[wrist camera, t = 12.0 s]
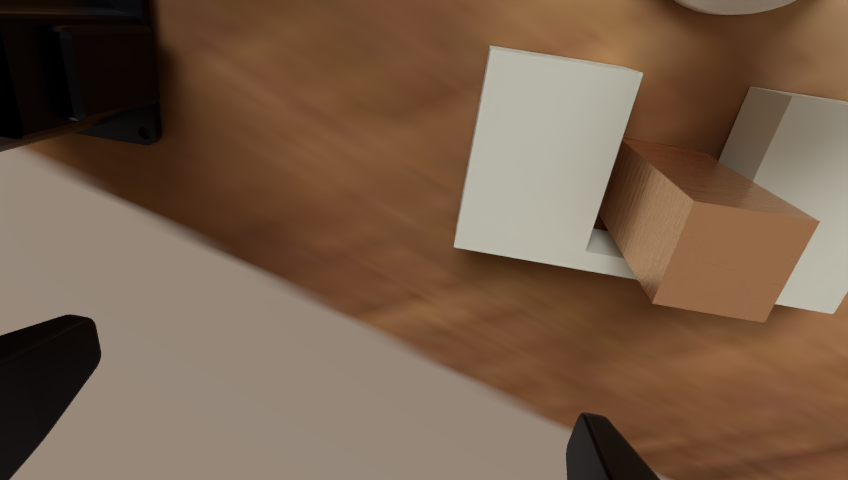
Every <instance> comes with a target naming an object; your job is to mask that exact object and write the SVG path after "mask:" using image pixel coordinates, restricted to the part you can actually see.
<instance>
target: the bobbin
mask: <svg viewBox="0 0 848 480" xmlns="http://www.w3.org/2000/svg"><path fill="white" fill-rule="evenodd" d="M673 1H675V2H677V3H678V4H680V5H682V6H684V7H686V8H689V9H691V10H694V11H697V12H702V13H706V14H715V15H739V14H754V13H759V12H764V11H769V10H772V9H776V8H779V7H782V6H785V5H787V4H790V3H792V2H794V1H796V0H673Z"/></svg>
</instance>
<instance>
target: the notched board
mask: <svg viewBox="0 0 848 480" xmlns="http://www.w3.org/2000/svg"><path fill="white" fill-rule="evenodd" d="M642 76H643V73H642V72H639V71H636V70H632V69H629V68H626V67H623V66H618V65H611V64H605V63H598V62H592V61H586V60H579V59H573V58H567V57H560V56H554V55H547V54H541V53H535V52H528V51H522V50H516V49H509V48H503V47H496V46H490V47H489V52H488V58H487V63H486V68H485V74H484V79H483V84H482V90H481V95H480V101H479V106H478V111H477V117H476V122H475V128H474V133H473V138H472V144H471V149H470V155H469V160H468V165H467V171H466V176H465V182H464V187H463V192H462V198H461V203H460V208H459V214H458V219H457V226H456V234H455V241H454V247H455V248H461V249H466V250H472V251H478V252H483V253H489V254H495V255H500V256H506V257H512V258H517V259H523V260H529V261H534V262H540V263H546V264H551V265H557V266H563V267H568V268H574V269H580V270H585V271H591V272H597V273H602V274H608V275H614V276H619V277H625V278H631V279H636V280H638V279H637V278H636V276H635V274H634V273H633V271H632V269H631V268H630V266H629V264H628V263H627V261H626V259H625V258H624V256H623V254H622V253H621V251H620V249H619V248H618V246H617V244H616V243H615V241H614V239H613V238H612V236H611V234H610V233H609V231H605V230H599V229H593V227H594V223H595V220H596V217H597V214H598V211H599V208H600V205H601V202H602V199H603V196H604V193H605V190H606V187H607V184H608V181H609V177H610V174H611V171H612V168H613V165H614V162H615V159H616V156H617V153H618V150H619V147H620V144H621V141H622V138H623V135H624V131H625V128H626V125H627V122H628V119H629V116H630V113H631V110H632V107H633V104H634V101H635V98H636V95H637V92H638V89H639V85H640V82H641V79H642ZM718 161H719V162H720V163H722V164H724V165H725V166H727V167H729V168H731V169H732V170H734V171H736V172H737V173H739V174H741V175H742V176H744V177H746V178H747V179H749V180H751V181H752V182H754V183H756V184H758V185H759V186H761V187H763V188H764V189H766V190H768V191H769V192H771V193H773V194H774V195H776V196H778V197H780V198H781V199H783V200H785V201H786V202H788V203H790V204H791V205H793V206H795V207H796V208H798V209H800V210H801V211H803V212H805V213H807V214H808V215H810V216H812V217H813V218H815V219H817V220H818V221H820V223H819V224H818V226H817V228H816V230H815V232H814V234H813V235H812V237H811V239H810V241H809V243H808V244H807V246H806V248H805V250H804V252H803V254H802V255H801V257H800V259H799V261H798V263H797V265H796V266H795V268H794V270H793V272H792V274H791V275H790V277H789V279H788V281H787V283H786V285H785V286H784V288H783V290H782V292H781V294H780V296H779V297H778V299H777V301H776V303H775V304H778V305H784V306H790V307H795V308H801V309H807V310H812V311H818V312H824V313H829V314H834V312H835V311H836V309H837V307H838V306H839V304H840V303H841V301H842V299H843V298H844V296H845V295H846V293H847V292H848V102H847V101H841V100H835V99H828V98H822V97H815V96H809V95H803V94H796V93H790V92H783V91H777V90H771V89H764V88H758V87H752V86H750V88H749V90H748V92H747V95H746V97H745V99H744V102H743V104H742V106H741V109H740V111H739V113H738V116H737V118H736V120H735V123H734V125H733V128H732V130H731V132H730V135H729V137H728V139H727V142H726V144H725V146H724V149H723V151H722V153H721V156H720V158H719V160H718Z"/></svg>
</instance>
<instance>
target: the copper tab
mask: <svg viewBox="0 0 848 480" xmlns="http://www.w3.org/2000/svg"><path fill="white" fill-rule="evenodd" d="M598 214H599V216H600V218H601V219H602V221H603V223H604V224H605V226H606V228H607V229H608V231H609V233H610V234H611V236H612V238H613V239H614V241H615V243H616V244H617V246H618V248H619V249H620V251H621V253H622V254H623V256H624V258H625V259H626V261H627V263H628V264H629V266H630V268H631V269H632V271H633V273H634V274H635V276H636V278H637V279H638V281H639V283H640V284H641V286H642V288H643V289H644V291H645V293H646V294H647V296H648V298H649V299H650V301H651V303H652V304H658V305H663V306H669V307H675V308H681V309H687V310H692V311H698V312H704V313H710V314H715V315H721V316H727V317H733V318H739V319H744V320H750V321H756V322H762V323H765V321H766V319H767V317H768V316H769V314H770V312H771V310H772V308H773V306H774V305H775V303H776V301H777V299H778V297H779V296H780V294H781V292H782V290H783V288H784V286H785V285H786V283H787V281H788V279H789V277H790V275H791V274H792V272H793V270H794V268H795V266H796V265H797V263H798V261H799V259H800V257H801V255H802V254H803V252H804V250H805V248H806V246H807V244H808V243H809V241H810V239H811V237H812V235H813V234H814V232H815V230H816V228H817V226H818V224H819V223H820V221H818V220H817V219H815V218H813V217H812V216H810V215H808V214H807V213H805V212H803V211H801V210H800V209H798V208H796V207H795V206H793V205H791V204H790V203H788V202H786V201H785V200H783V199H781V198H780V197H778V196H776V195H774V194H773V193H771V192H769V191H768V190H766V189H764V188H763V187H761V186H759V185H758V184H756V183H754V182H752V181H751V180H749V179H747V178H746V177H744V176H742V175H741V174H739V173H737V172H736V171H734V170H732V169H731V168H729V167H727V166H725V165H724V164H722V163H720V162H719V161H717V160H715V159H714V158H712V157H710V156H709V155H707V154H705V153H703V152H702V151H700V150H696V149H690V148H684V147H677V146H671V145H665V144H658V143H652V142H646V141H639V140H633V139H626V138H622V141H621V144H620V147H619V150H618V153H617V156H616V159H615V162H614V165H613V168H612V171H611V174H610V177H609V181H608V184H607V187H606V190H605V193H604V196H603V199H602V202H601V205H600V208H599V211H598Z"/></svg>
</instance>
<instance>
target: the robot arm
mask: <svg viewBox="0 0 848 480" xmlns="http://www.w3.org/2000/svg"><path fill="white" fill-rule="evenodd" d="M159 98H160V94H159V85H158V75H157V65H156V56H155V46H154V37H153V33H152V32H151V24H150V14H149V5H148V0H0V152H2V151H5V150H9V149H13V148H17V147H20V146H24V145H28V144H31V143H35V142H39V141H43V140H46V139H50V138H54V137H58V136H61V135H65V134H69V133H78V134H84V135H90V136H96V137H102V138H107V139H113V140H119V141H125V142H131V143H136V144H142V145H151V144H154V143H157V142H158V141H160V139H161V138H162V128H161V118H160V109H159ZM145 128H147V129H148V130H149V132H150V136H148V135H147V134H146V133H145ZM100 358H101V349H100V344H99V339H98V334H97V329H96V325H95V322H94V321H93V320H92V319H90V318H88V317H83V316H77V315H64V316H61V317H58V318H54V319H51V320H48V321H45V322H42V323H39V324H36V325H33V326H29V327H26V328H23V329H20V330H17V331H14V332H11V333H7V334H4V335H1V336H0V480H9V479H10V478H11V477H12V476H13V475H14V474H15V473H16V472H17V470H18V469H19V468H20V467H21V466H22V465H23V463H24V462H25V461H26V460H27V459H28V458H29V456H30V455H31V454H32V453H33V452H34V451H35V450H36V448H37V447H38V446H39V445H40V444H41V442H42V441H43V440H44V439H45V437H46V436H47V434H48V433H49V432H50V431H51V429H52V428H53V427H54V425H55V424H56V423H57V421H58V420H59V419H60V417H61V416H62V414H63V413H64V412H65V410H66V409H67V407H68V406H69V405H70V403H71V402H72V401H73V399H74V398H75V396H76V395H77V394H78V392H79V391H80V389H81V388H82V387H83V385H84V384H85V383H86V381H87V380H88V379H89V377H90V376H91V374H92V373H93V372H94V370H95V369H96V367H97V366H98V364H99V362H100ZM566 465H567V480H660V479H659V478H658V477H657V475H656V474H655V473H654V472H653V471H652V470H651V468H650V467H649V466H648V465H647V464H646V463H645V461H644V460H643V459H642V458H641V457H640V456H639V455H638V453H637V452H636V451H635V450H634V449H633V448H632V446H631V445H630V444H629V443H628V442H627V441H626V439H625V438H624V437H623V436H622V435H621V434H620V433H619V431H618V430H617V429H616V428H615V427H614V426H613V424H612V423H611V422H610V421H609V420H608V419H607V418H606V417H604V416H602V415H597V414H591V413H586V412H584V413H581V414H580V415H579V417H578V419H577V421H576V424H575V427H574V429H573V432H572V434H571V437H570V439H569V442H568V445H567V452H566Z"/></svg>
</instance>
